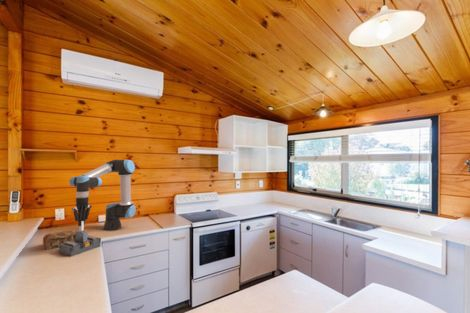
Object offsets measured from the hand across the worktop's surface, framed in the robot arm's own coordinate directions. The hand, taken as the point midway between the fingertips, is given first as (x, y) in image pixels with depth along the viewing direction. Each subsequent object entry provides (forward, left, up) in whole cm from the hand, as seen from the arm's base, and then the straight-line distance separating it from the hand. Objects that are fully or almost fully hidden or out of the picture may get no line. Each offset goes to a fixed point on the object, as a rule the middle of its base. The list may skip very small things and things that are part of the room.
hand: (81, 230), depth 168 cm
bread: (+1, -22, -14) cm, 26 cm away
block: (0, 0, -11) cm, 11 cm away
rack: (0, 0, -14) cm, 14 cm away
